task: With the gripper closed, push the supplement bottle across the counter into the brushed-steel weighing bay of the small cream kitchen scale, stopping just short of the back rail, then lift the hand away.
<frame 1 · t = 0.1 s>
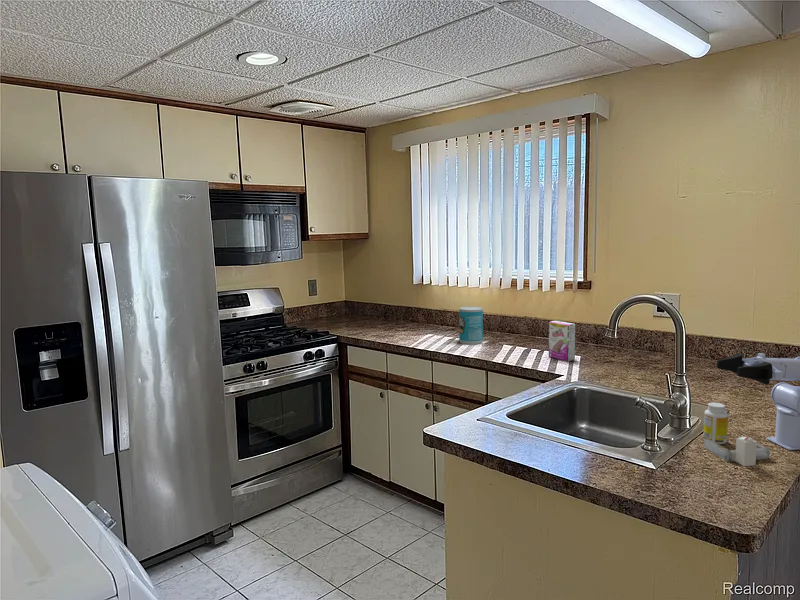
hand: (727, 367, 141), 22 cm above the worktop, tool horizontal, fingers open, 7 cm apart
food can: (471, 342, 283), on the worktop
scale bay: (735, 452, 141), on the worktop
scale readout: (745, 463, 134), on the worktop
supplement bottle: (714, 441, 148), on the worktop
candy bar box: (561, 359, 244), on the worktop
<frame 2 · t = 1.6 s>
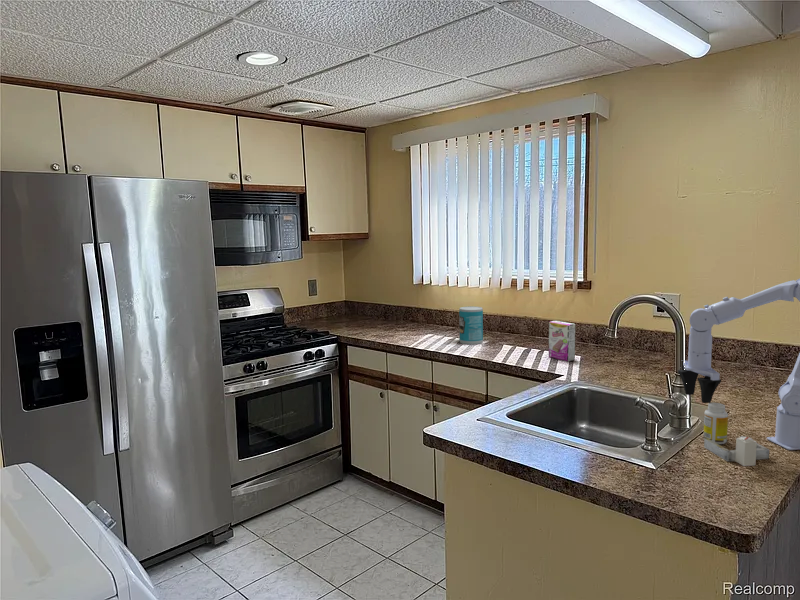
hand: (697, 398, 155), 9 cm above the worktop, tool pointing down, fingers open, 7 cm apart
nothing on the worktop moved.
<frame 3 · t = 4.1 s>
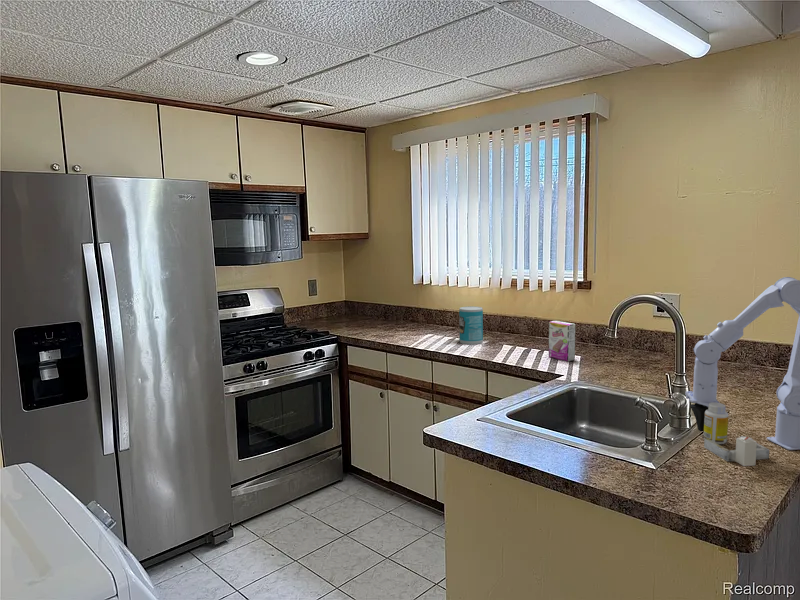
hand: (702, 430, 153), 1 cm above the worktop, tool pointing down, fingers closed
supplement bottle: (714, 441, 148), on the worktop, touching gripper
everything else where it was.
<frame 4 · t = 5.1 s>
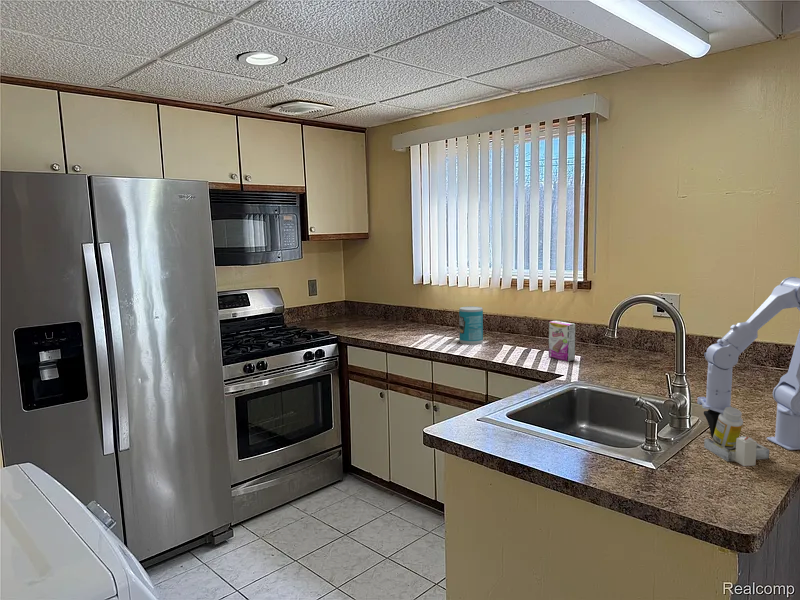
hand: (716, 437, 148), 1 cm above the worktop, tool pointing down, fingers closed
supplement bottle: (723, 443, 145), point 1 cm above the worktop, touching gripper
everything else where it was.
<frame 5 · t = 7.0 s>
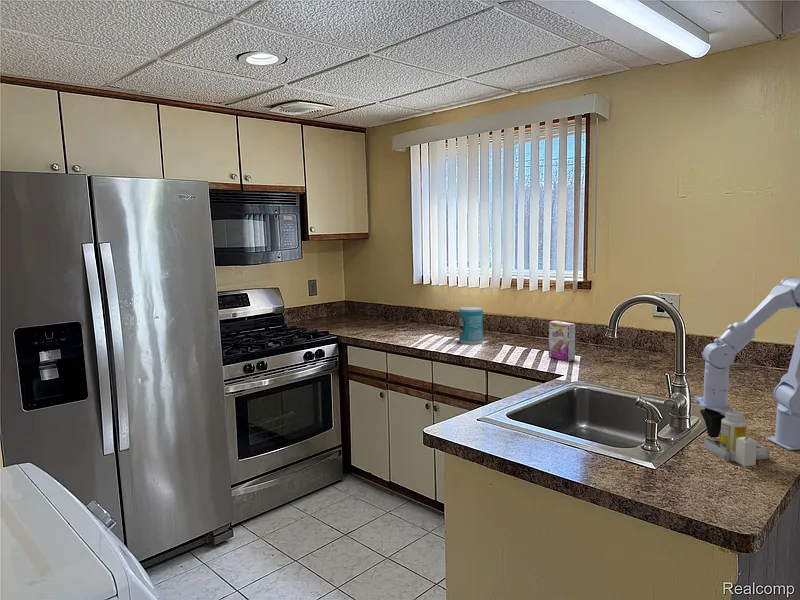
hand: (713, 436, 149), 1 cm above the worktop, tool pointing down, fingers closed
supplement bottle: (732, 451, 142), on the worktop
everything else where it was.
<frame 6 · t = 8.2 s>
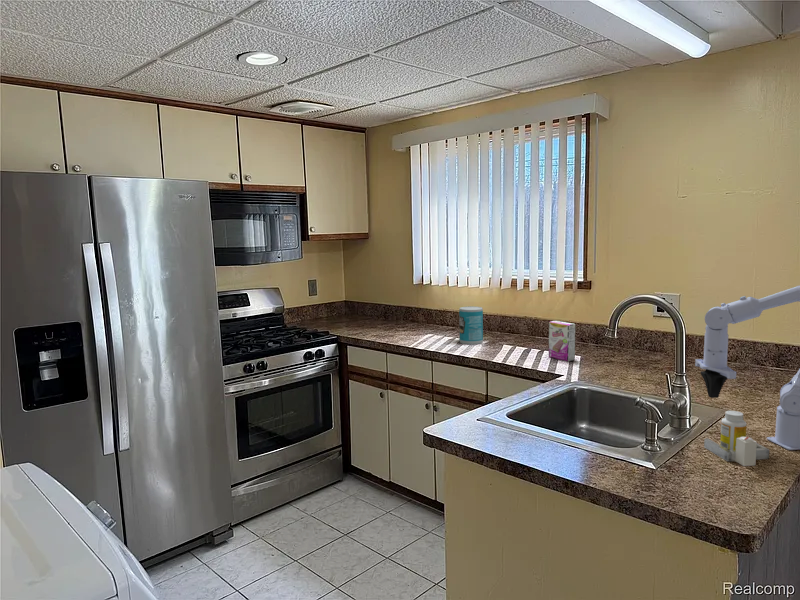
hand: (713, 397, 154), 10 cm above the worktop, tool pointing down, fingers closed
nothing on the worktop moved.
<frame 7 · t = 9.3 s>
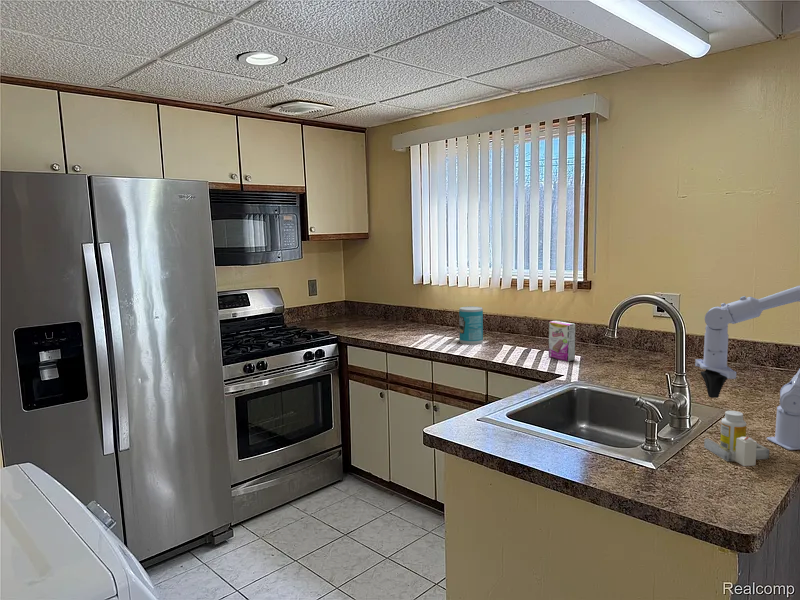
hand: (713, 397, 154), 10 cm above the worktop, tool pointing down, fingers closed
nothing on the worktop moved.
at the end: supplement bottle inside the target area (1.4 cm from its centre), on the worktop; supplement bottle tilted 0° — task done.
